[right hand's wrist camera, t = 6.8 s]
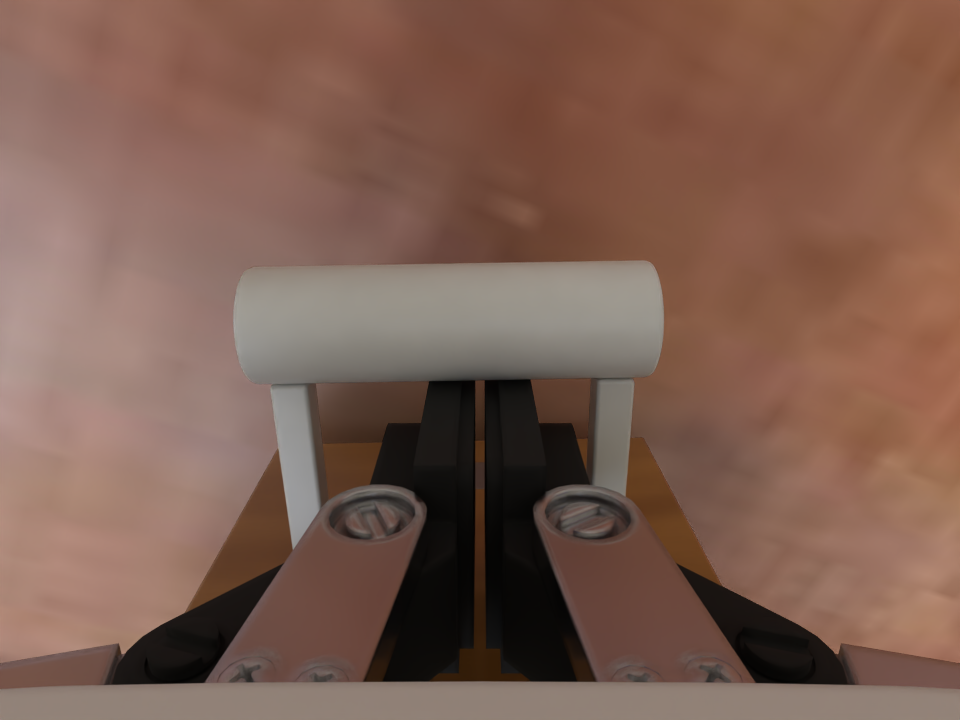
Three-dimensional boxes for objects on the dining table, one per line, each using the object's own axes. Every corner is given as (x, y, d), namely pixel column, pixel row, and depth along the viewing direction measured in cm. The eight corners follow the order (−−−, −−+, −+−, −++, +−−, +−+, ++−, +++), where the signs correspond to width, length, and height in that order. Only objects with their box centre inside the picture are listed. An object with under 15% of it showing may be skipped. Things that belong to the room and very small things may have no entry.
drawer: (246, 215, 15) (10, 327, 7) (663, 209, 15) (869, 312, 7) (330, 805, 22) (256, 1176, 14) (612, 798, 22) (687, 1163, 14)
